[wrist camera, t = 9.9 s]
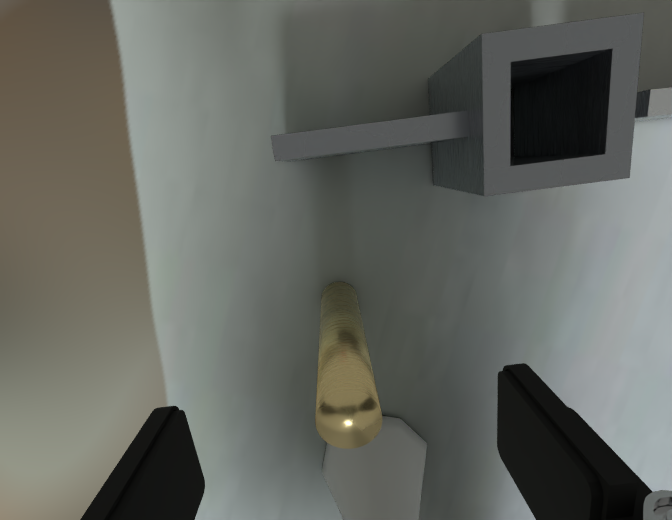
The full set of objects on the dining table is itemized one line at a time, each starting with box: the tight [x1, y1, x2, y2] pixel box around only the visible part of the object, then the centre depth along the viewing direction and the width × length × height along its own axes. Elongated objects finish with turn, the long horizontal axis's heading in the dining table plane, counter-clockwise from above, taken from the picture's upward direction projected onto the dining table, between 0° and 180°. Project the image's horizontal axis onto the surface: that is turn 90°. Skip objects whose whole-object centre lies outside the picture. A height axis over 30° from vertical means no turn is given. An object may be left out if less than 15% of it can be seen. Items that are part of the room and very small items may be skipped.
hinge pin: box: [315, 282, 382, 449], centre depth 17 cm, size 2×2×11 cm
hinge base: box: [271, 13, 644, 196], centre depth 17 cm, size 6×14×7 cm, turn 97°
